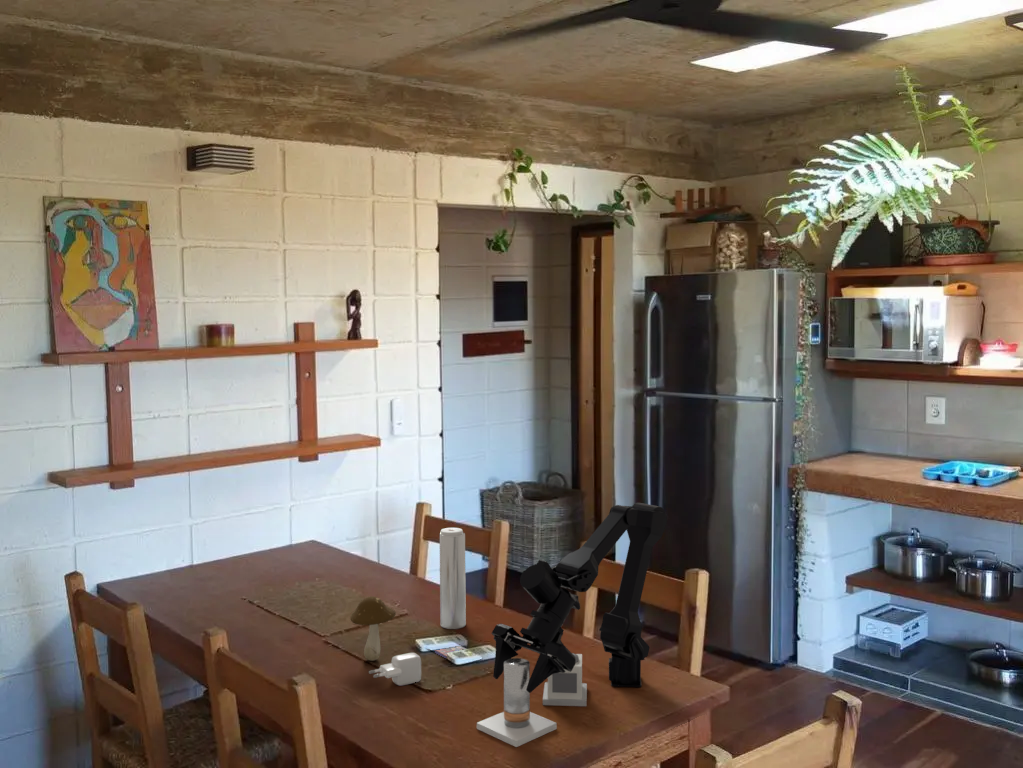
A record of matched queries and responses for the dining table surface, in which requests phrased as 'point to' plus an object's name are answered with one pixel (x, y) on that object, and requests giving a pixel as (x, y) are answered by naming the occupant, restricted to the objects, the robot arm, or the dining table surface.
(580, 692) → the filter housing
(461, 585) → the white tall cylinder
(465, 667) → the dining table surface
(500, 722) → the grey flat square slab
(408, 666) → the power adapter
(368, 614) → the mushroom
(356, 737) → the dining table surface
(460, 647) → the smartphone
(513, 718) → the cartridge
